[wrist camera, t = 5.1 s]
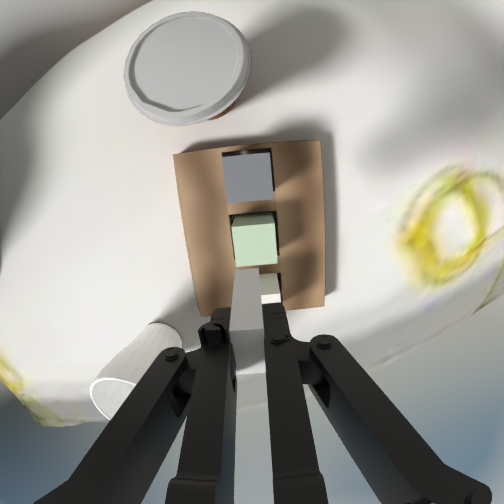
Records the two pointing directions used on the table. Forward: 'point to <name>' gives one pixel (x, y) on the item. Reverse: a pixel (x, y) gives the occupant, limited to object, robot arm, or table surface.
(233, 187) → the gray button
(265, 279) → the white block
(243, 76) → the disposable coffee cup
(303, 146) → the button board
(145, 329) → the cup
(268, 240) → the pale green block
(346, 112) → the table surface
